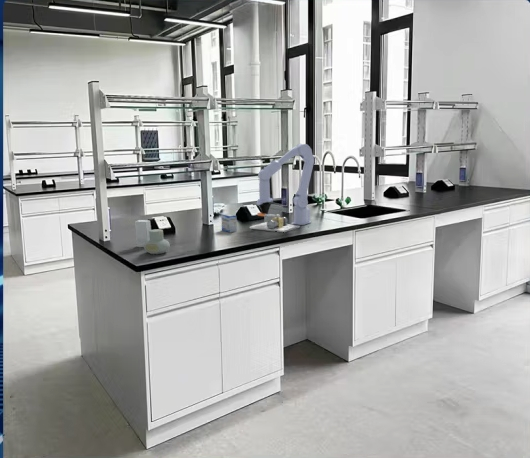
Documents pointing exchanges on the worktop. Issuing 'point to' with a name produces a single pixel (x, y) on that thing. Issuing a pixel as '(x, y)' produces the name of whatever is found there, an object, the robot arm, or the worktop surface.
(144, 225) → the skincare box
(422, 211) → the worktop surface
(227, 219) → the medicine box
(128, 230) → the worktop surface
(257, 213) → the lever
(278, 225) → the valve rig
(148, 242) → the air freshener
